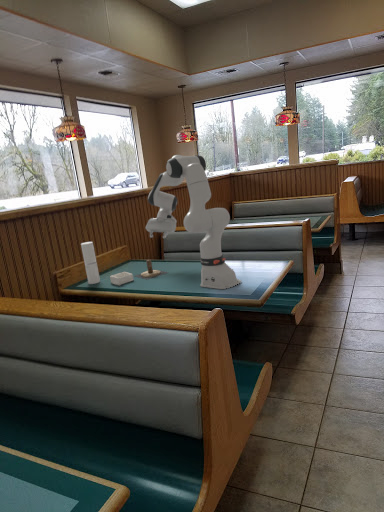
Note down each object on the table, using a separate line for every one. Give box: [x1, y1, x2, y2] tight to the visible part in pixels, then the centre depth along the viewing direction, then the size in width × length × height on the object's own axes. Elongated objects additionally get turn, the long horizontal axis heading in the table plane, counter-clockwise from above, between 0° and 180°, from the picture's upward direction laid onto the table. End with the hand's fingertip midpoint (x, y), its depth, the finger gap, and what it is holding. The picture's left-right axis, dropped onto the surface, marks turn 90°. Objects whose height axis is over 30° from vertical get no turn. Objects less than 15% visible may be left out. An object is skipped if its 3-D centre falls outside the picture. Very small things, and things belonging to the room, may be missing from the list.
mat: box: [134, 270, 169, 281], centre depth 236 cm, size 16×16×1 cm
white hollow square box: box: [109, 271, 134, 286], centre depth 229 cm, size 10×10×4 cm
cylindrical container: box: [80, 241, 101, 285], centre depth 234 cm, size 7×7×25 cm
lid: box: [140, 259, 161, 277], centre depth 235 cm, size 12×12×9 cm
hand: (157, 237), depth 241 cm, fingers open, 8 cm apart
